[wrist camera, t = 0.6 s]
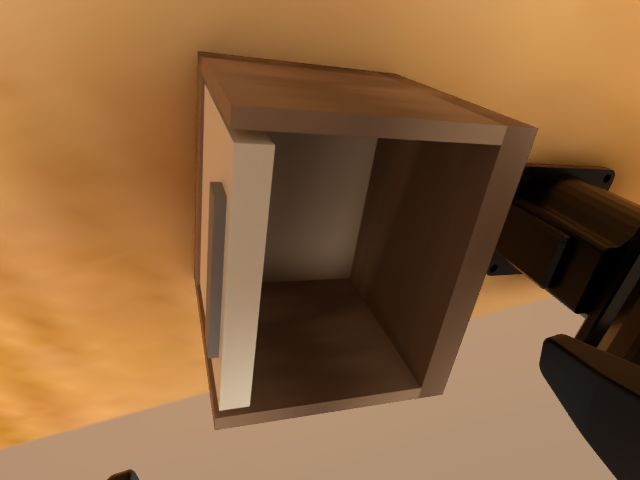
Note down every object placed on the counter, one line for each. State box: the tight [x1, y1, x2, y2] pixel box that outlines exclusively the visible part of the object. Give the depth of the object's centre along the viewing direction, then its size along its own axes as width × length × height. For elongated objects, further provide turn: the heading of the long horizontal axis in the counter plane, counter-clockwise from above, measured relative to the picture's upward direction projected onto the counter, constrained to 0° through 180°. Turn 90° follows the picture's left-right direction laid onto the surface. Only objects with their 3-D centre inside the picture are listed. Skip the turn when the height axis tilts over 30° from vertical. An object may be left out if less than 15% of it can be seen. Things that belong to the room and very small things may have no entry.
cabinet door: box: [200, 84, 275, 411], centre depth 14 cm, size 1×8×7 cm, turn 171°
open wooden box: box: [194, 52, 538, 430], centre depth 16 cm, size 8×10×8 cm
